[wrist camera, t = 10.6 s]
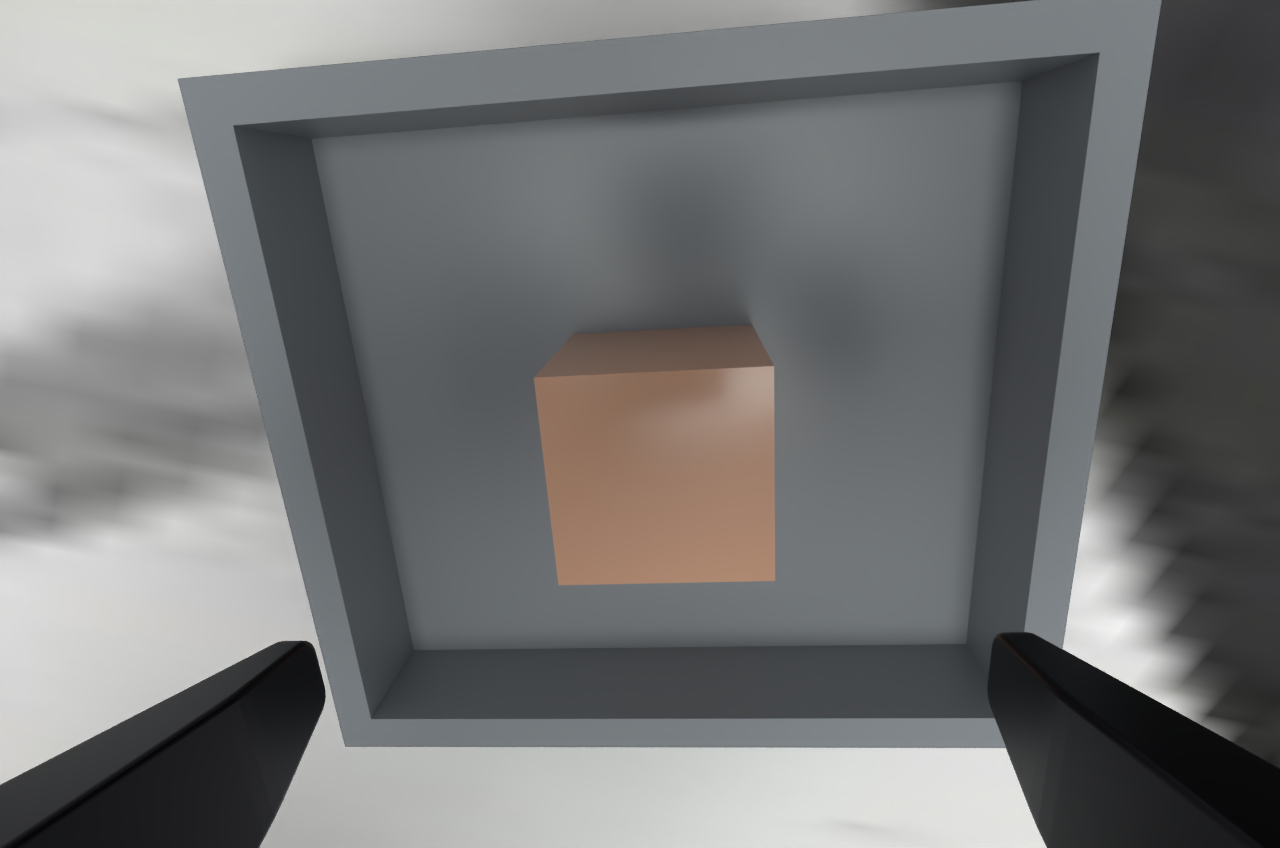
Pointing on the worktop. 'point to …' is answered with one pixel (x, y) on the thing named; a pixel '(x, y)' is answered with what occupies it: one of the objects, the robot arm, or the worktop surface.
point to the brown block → (660, 456)
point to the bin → (686, 298)
